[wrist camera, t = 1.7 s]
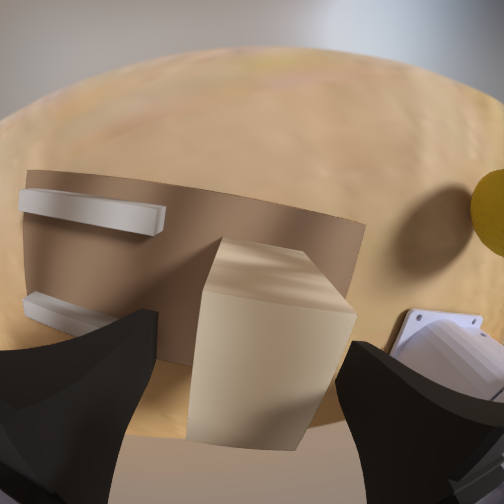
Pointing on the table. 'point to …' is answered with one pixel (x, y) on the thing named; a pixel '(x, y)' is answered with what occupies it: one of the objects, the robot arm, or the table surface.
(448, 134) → the table surface
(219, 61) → the table surface
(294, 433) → the block
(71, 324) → the board
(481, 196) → the lemon
